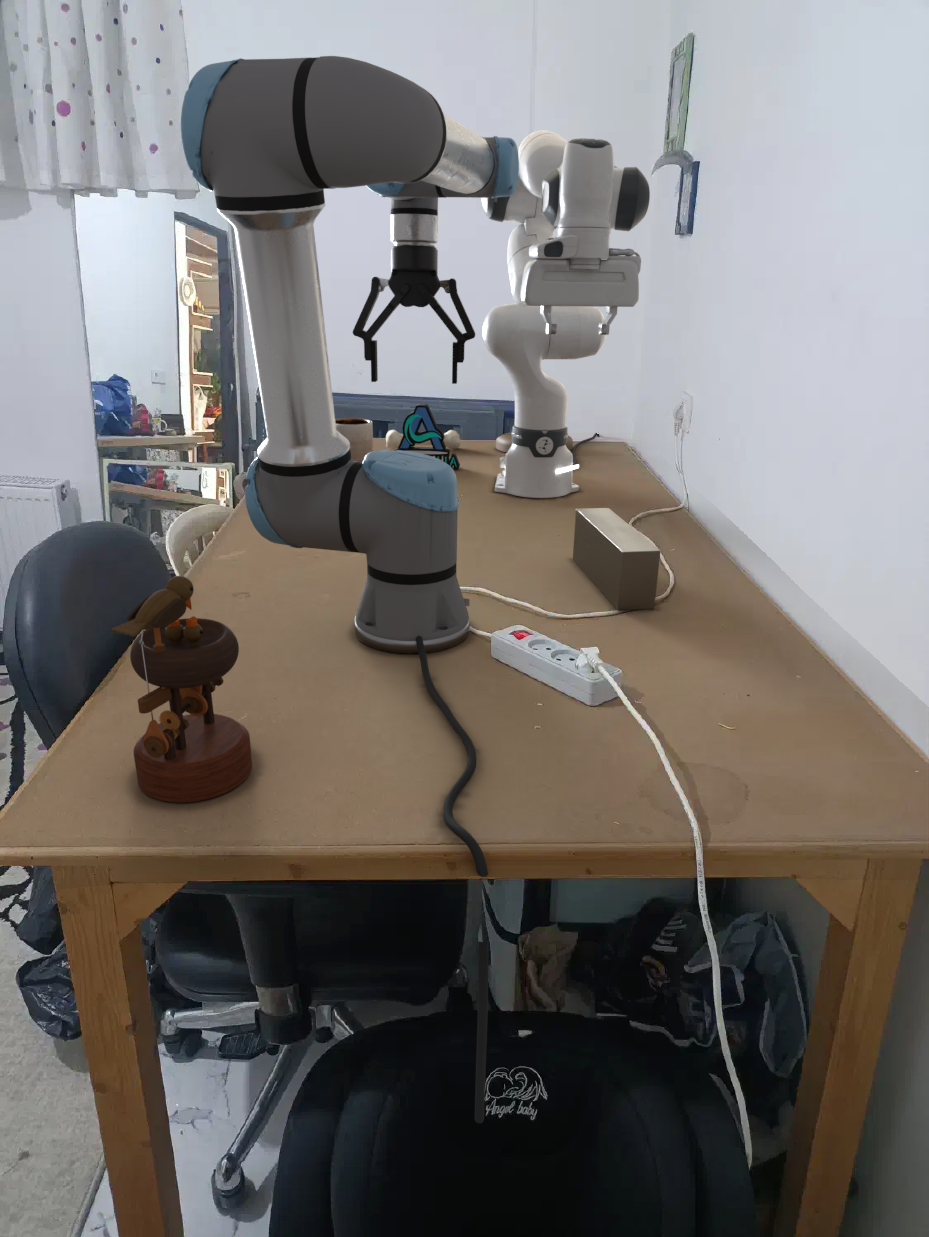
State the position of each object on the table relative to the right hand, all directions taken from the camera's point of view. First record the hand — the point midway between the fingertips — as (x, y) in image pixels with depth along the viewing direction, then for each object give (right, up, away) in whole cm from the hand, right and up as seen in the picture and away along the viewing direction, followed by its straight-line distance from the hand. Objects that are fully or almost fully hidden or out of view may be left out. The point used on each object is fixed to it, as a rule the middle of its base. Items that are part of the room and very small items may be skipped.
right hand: (577, 334), depth 147 cm
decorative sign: (-30, -12, +60) cm, 69 cm away
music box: (-45, -64, -66) cm, 102 cm away
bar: (+3, -44, -15) cm, 46 cm away
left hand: (-28, -9, -4) cm, 30 cm away
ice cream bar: (0, -6, +78) cm, 78 cm away
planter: (-48, -9, +67) cm, 83 cm away
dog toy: (-31, -4, +82) cm, 88 cm away
